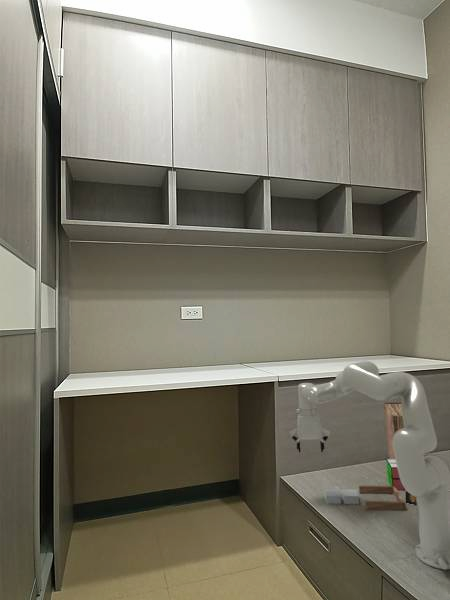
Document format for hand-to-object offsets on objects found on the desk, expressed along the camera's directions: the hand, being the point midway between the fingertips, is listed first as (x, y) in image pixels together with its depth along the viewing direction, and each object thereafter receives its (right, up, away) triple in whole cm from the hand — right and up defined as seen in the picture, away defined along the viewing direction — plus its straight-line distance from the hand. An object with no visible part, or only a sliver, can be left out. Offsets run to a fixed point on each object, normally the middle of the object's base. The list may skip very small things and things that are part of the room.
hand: (310, 451), depth 165 cm
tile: (+16, -20, -4) cm, 26 cm away
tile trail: (+9, -21, -3) cm, 22 cm away
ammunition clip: (+43, -18, -11) cm, 47 cm away
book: (+53, -19, +26) cm, 62 cm away
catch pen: (+29, -19, -6) cm, 35 cm away
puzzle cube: (+43, -19, +7) cm, 48 cm away
